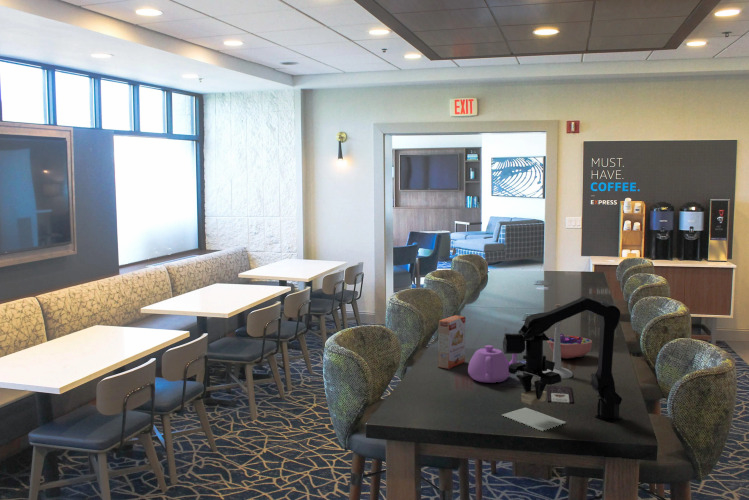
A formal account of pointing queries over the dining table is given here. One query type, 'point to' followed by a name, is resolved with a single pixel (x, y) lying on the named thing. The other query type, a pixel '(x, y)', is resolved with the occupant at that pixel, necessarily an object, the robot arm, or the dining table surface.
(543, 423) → the sage mat
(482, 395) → the dining table surface
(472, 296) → the dining table surface
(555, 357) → the candlestick
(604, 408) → the robot arm
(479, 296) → the dining table surface
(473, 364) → the teapot
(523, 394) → the grooved tan block
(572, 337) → the cell model
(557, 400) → the chocolate bar
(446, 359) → the cracker box
